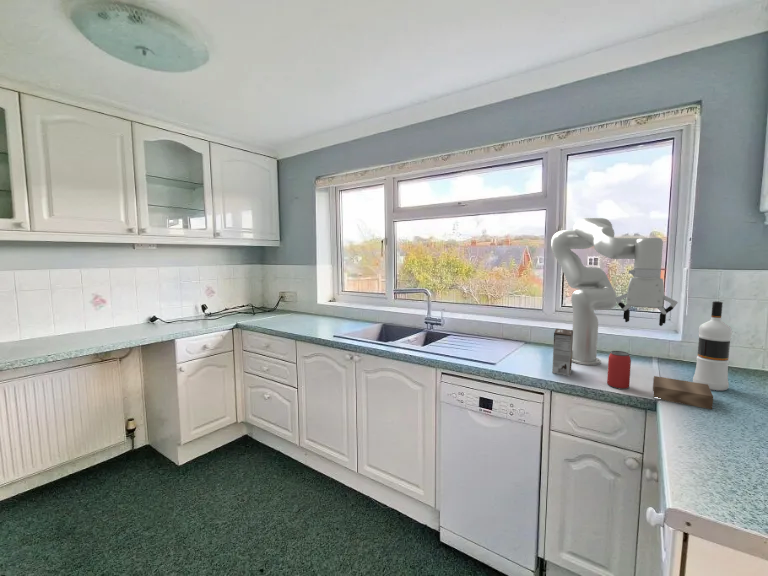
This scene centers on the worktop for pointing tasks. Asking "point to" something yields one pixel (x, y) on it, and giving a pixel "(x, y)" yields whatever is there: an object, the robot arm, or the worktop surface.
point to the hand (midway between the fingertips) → (643, 323)
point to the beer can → (619, 369)
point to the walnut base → (683, 392)
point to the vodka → (713, 351)
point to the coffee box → (562, 351)
